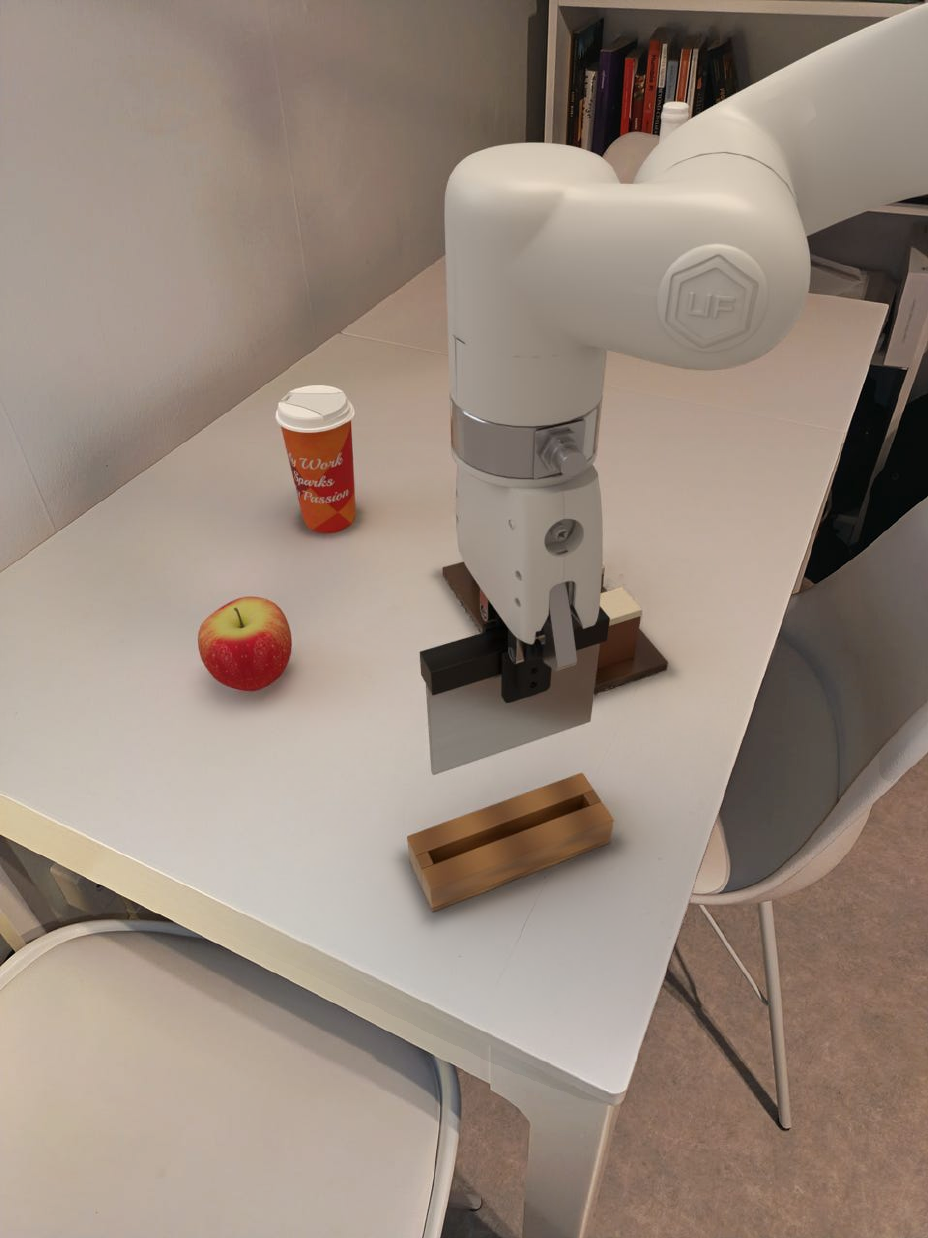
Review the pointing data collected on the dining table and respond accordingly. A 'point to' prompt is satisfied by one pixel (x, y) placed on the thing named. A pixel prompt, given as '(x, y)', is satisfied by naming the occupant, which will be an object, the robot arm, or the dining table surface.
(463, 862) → the knife block
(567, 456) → the robot arm
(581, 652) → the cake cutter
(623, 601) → the cake slice
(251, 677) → the apple
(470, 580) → the cake
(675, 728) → the dining table surface
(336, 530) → the coffee cup
